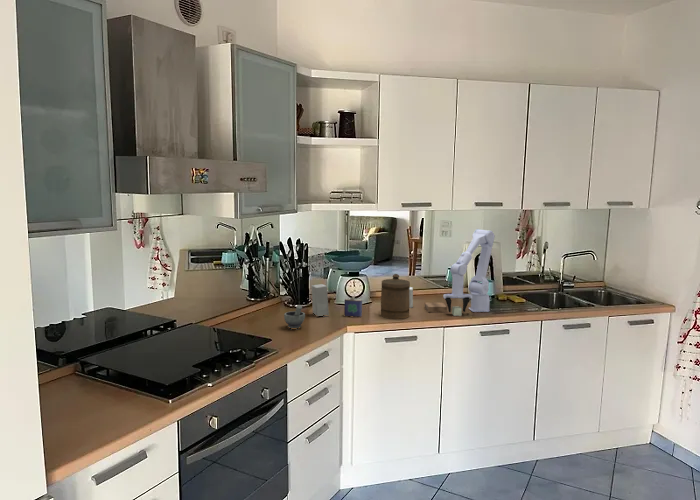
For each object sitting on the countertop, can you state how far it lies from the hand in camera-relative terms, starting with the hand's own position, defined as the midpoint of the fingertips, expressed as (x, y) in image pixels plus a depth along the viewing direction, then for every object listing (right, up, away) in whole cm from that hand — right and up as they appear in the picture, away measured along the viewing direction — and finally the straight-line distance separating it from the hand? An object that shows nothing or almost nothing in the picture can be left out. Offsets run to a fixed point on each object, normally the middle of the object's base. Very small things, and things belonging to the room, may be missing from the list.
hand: (456, 311), depth 284 cm
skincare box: (-72, -2, -4) cm, 72 cm away
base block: (-10, 0, +9) cm, 14 cm away
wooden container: (-33, -2, -3) cm, 33 cm away
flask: (-55, -2, -6) cm, 55 cm away
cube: (0, -2, 0) cm, 2 cm away
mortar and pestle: (-82, -5, -28) cm, 87 cm away
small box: (-25, +1, +17) cm, 31 cm away
